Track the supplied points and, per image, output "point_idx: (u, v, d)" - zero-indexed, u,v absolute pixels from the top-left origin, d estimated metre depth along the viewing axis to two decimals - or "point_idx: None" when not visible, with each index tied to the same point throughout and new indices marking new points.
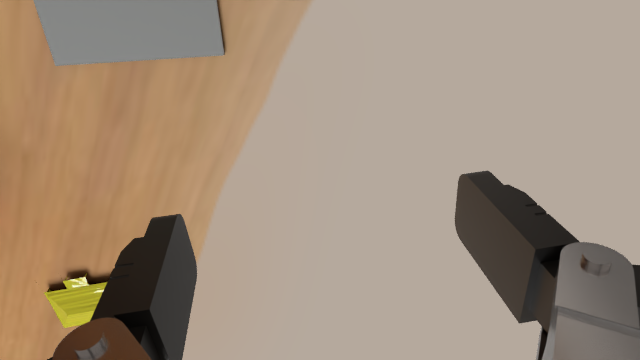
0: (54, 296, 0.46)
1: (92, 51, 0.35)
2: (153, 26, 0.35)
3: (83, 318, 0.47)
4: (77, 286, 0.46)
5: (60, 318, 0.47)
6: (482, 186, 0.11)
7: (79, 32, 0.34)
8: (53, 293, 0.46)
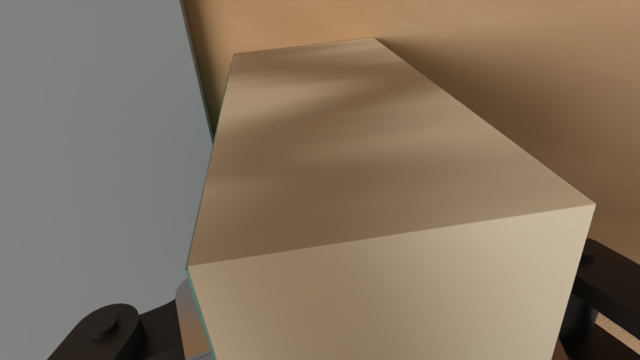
0: None
1: None
2: None
3: None
4: None
5: None
6: None
7: None
8: None
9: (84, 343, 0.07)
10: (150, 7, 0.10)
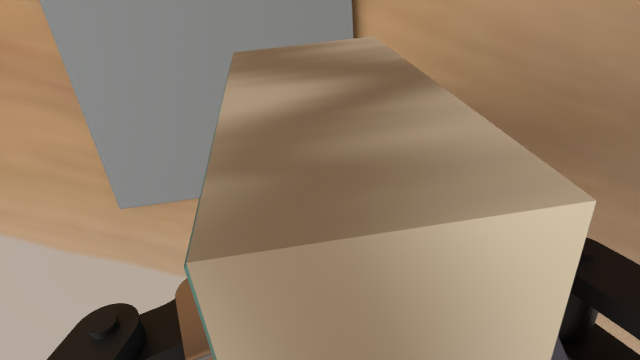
0: None
1: (73, 37, 0.22)
2: (137, 127, 0.25)
3: None
4: None
5: None
6: None
7: (100, 23, 0.22)
8: None
9: (84, 343, 0.07)
10: None
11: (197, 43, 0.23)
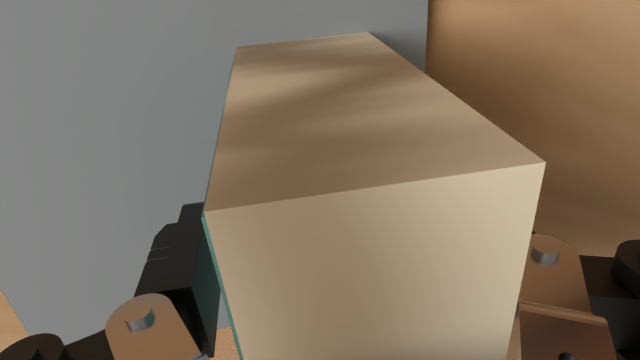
0: None
1: None
2: (59, 245, 0.15)
3: None
4: None
5: None
6: None
7: None
8: None
9: None
10: None
11: (154, 114, 0.13)
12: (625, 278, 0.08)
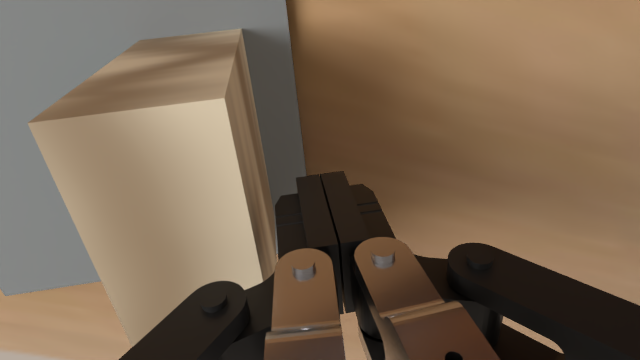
0: None
1: None
2: (12, 198, 0.19)
3: None
4: None
5: None
6: (329, 185, 0.12)
7: None
8: None
9: (195, 313, 0.08)
10: None
11: None
12: (465, 289, 0.08)
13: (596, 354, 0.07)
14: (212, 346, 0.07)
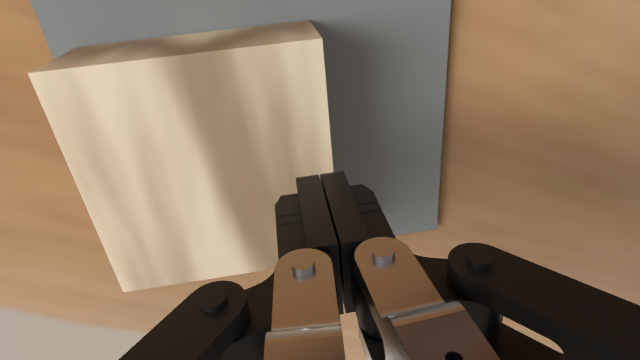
0: None
1: None
2: None
3: None
4: None
5: None
6: (329, 185, 0.12)
7: None
8: None
9: (195, 313, 0.08)
10: None
11: None
12: (465, 289, 0.08)
13: (596, 354, 0.07)
14: (212, 347, 0.07)
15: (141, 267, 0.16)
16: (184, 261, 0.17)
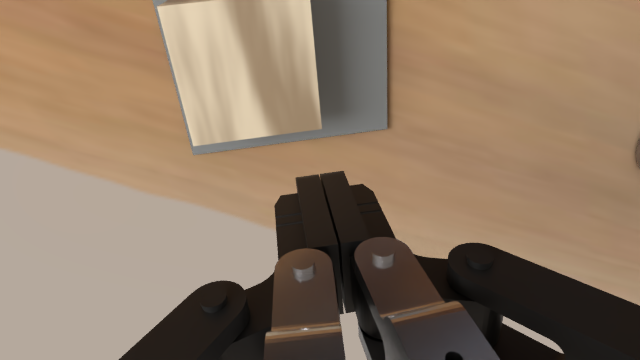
0: None
1: None
2: None
3: None
4: None
5: None
6: (329, 185, 0.12)
7: None
8: None
9: (195, 313, 0.08)
10: None
11: None
12: (465, 289, 0.08)
13: (596, 354, 0.07)
14: (212, 347, 0.07)
15: (205, 129, 0.28)
16: (230, 126, 0.28)
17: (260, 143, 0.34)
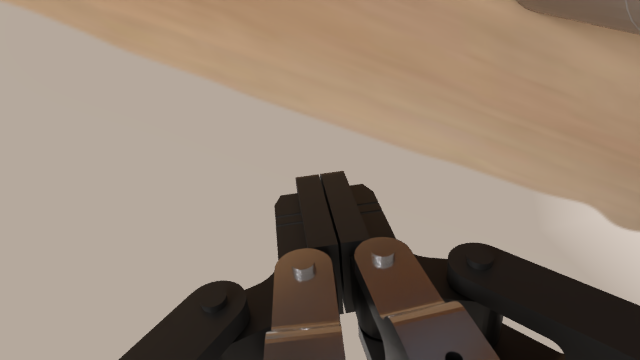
0: None
1: None
2: None
3: None
4: None
5: None
6: (329, 185, 0.12)
7: None
8: None
9: (195, 313, 0.08)
10: None
11: None
12: (465, 289, 0.08)
13: (596, 354, 0.07)
14: (212, 347, 0.07)
15: None
16: None
17: None
